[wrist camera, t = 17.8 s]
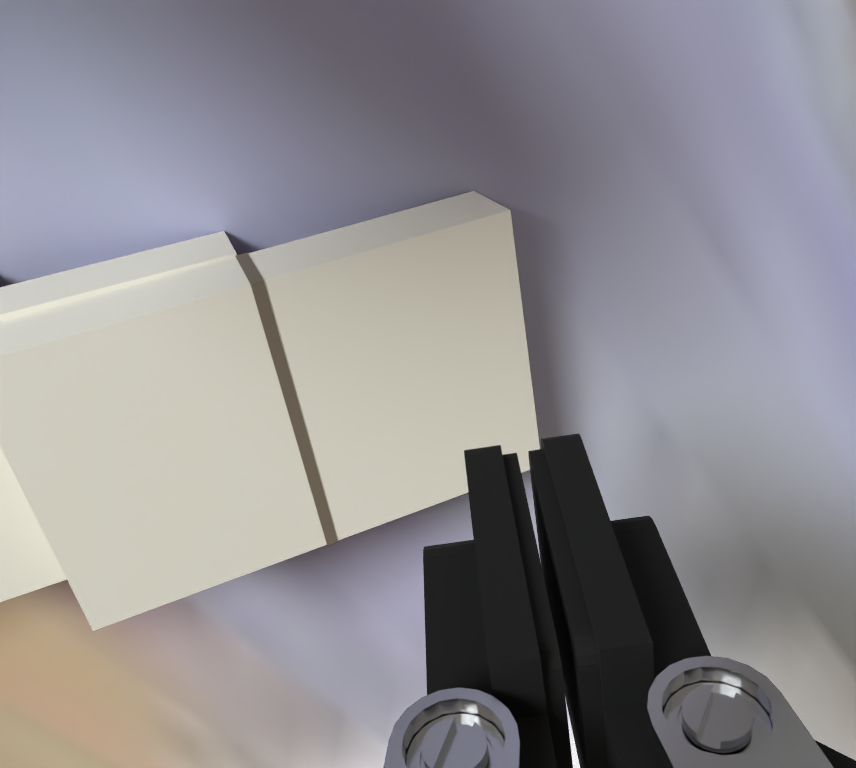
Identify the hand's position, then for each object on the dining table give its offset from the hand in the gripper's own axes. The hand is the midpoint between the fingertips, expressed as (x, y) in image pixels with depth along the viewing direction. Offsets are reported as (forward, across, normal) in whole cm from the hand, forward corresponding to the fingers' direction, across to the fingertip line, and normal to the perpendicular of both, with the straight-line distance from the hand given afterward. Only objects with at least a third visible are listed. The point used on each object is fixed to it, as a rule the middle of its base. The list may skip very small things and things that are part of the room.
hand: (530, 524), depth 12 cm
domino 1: (+7, 0, 0) cm, 7 cm away
